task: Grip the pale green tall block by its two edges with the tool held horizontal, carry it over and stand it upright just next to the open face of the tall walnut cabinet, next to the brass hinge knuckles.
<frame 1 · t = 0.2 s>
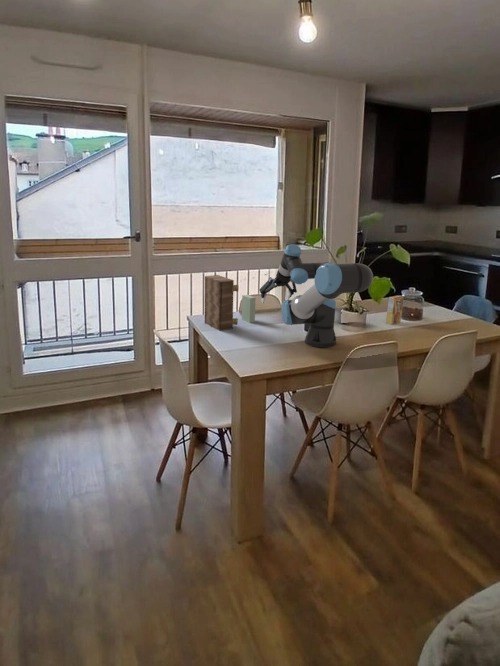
hand: (274, 301, 258), 15 cm above the table, tool tilted 35°, fingers open, 13 cm apart
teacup: (342, 322, 279), on the table
cabinet: (218, 325, 263), on the table
pale green tall block: (248, 320, 275), on the table
candy box: (393, 323, 280), on the table
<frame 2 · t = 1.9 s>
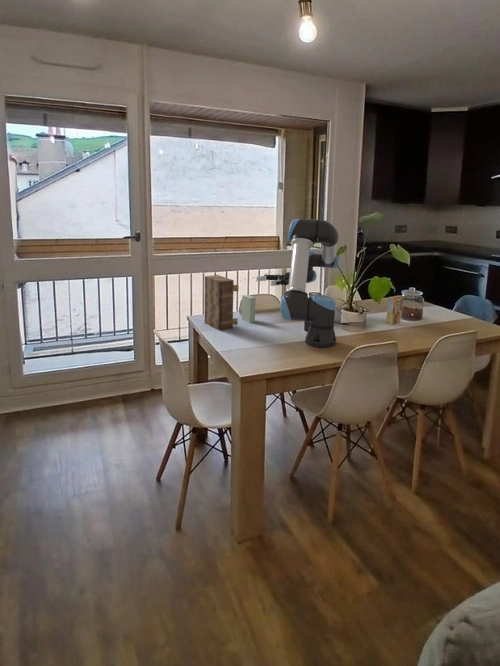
hand: (263, 281, 274), 22 cm above the table, tool horizontal, fingers open, 13 cm apart
nothing on the table moved.
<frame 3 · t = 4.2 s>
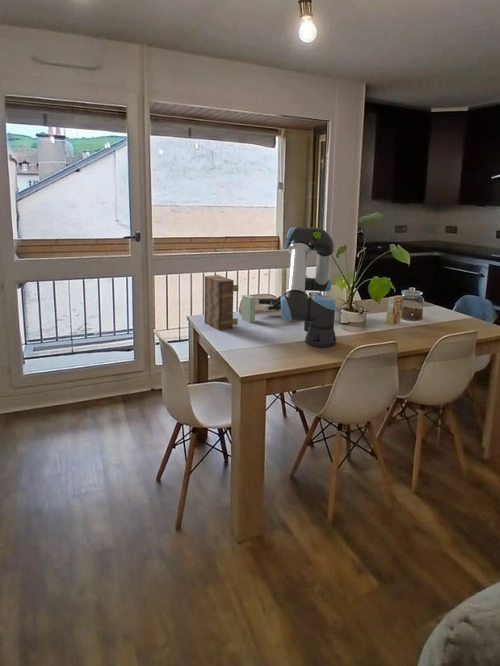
hand: (256, 305, 276), 8 cm above the table, tool horizontal, fingers open, 13 cm apart
nothing on the table moved.
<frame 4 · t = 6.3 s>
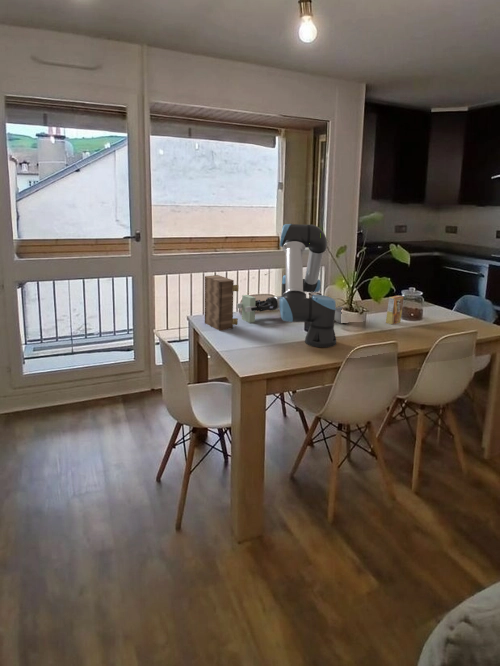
hand: (241, 307, 270), 8 cm above the table, tool horizontal, fingers closed on pale green tall block, 8 cm apart
pale green tall block: (248, 320, 275), on the table, touching gripper
everything else where it was.
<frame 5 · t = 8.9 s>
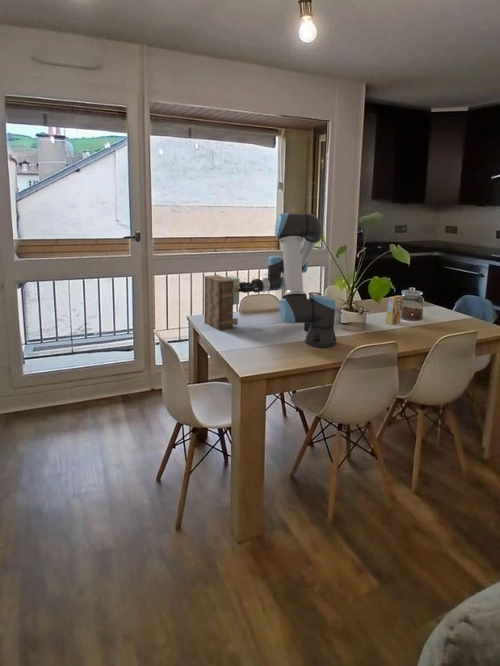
hand: (225, 289, 260), 20 cm above the table, tool horizontal, fingers closed on pale green tall block, 8 cm apart
pale green tall block: (232, 302, 265), point 12 cm above the table, touching gripper
everything else where it was.
when the fingers open (9 cm above the table, at t = 11.3 s): pale green tall block stays where it is, on the table.
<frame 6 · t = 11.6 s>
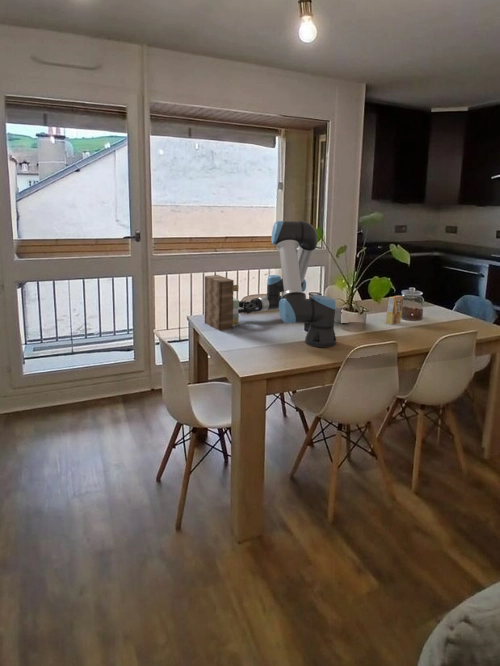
hand: (226, 308, 263), 9 cm above the table, tool horizontal, fingers open, 12 cm apart
pale green tall block: (231, 323, 268), on the table
everything else where it was.
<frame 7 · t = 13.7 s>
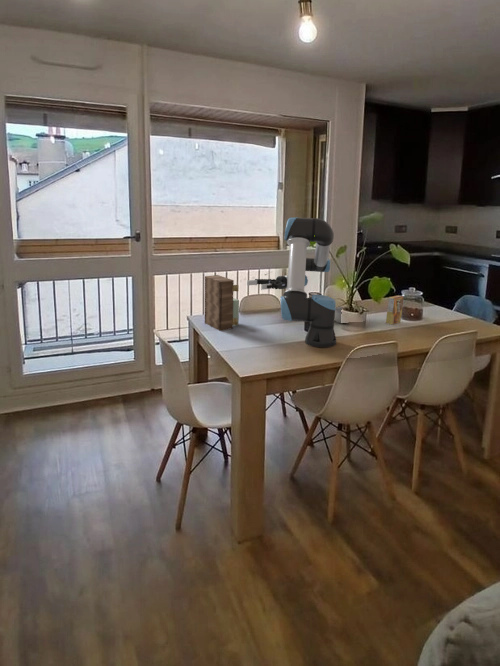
hand: (254, 285, 270), 20 cm above the table, tool horizontal, fingers open, 13 cm apart
nothing on the table moved.
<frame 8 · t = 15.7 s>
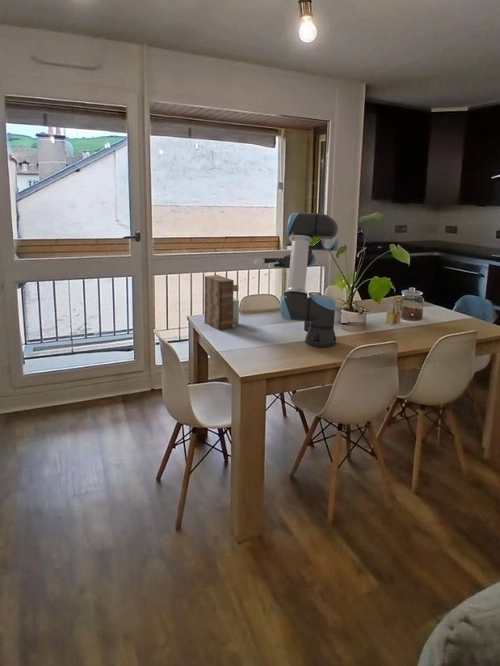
hand: (261, 263, 268), 32 cm above the table, tool horizontal, fingers open, 13 cm apart
nothing on the table moved.
at the end: pale green tall block inside the target area (0.2 cm from its centre), on the table; pale green tall block tilted 0°; the gripper is holding nothing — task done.
